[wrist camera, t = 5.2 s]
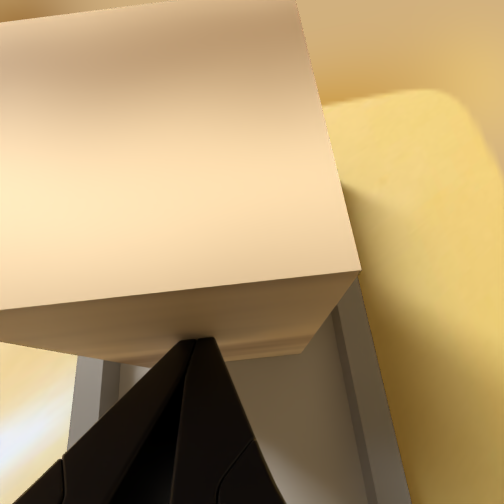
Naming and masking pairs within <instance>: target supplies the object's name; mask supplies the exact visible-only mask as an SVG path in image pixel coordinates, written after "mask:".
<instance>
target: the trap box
mask: <svg viewBox="0 0 504 504" xmlns="http://www.w3.org/2000/svg"><path fill="white" fill-rule="evenodd" d="M225 364H226V366H227V368H228V371H229V373H230V376H231V378H232V381H233V383H234V386H235V388H236V391H237V393H238V395H239V398H240V400H241V403H242V405H243V408H244V410H245V413H246V415H247V417H248V420H249V422H250V425H251V427H252V430H253V432H254V435H255V437H256V440H257V441H258V444H259V446H260V449H261V451H262V454H263V456H264V458H265V461H266V463H267V465H268V467H269V469H270V472H271V474H272V476H273V478H274V481H275V483H276V485H277V487H278V489H279V490H280V492H281V494H282V496H283V498H284V500H285V502H286V503H287V504H412V503H411V498H410V494H409V490H408V486H407V482H406V477H405V473H404V469H403V465H402V461H401V456H400V452H399V448H398V444H397V440H396V435H395V431H394V427H393V423H392V419H391V414H390V410H389V406H388V402H387V398H386V393H385V389H384V385H383V381H382V377H381V372H380V368H379V364H378V360H377V356H376V351H375V347H374V343H373V339H372V335H371V331H370V326H369V322H368V318H367V314H366V310H365V305H364V301H363V297H362V293H361V289H360V284H359V280H358V276H357V277H356V279H355V280H354V281H353V283H352V284H351V285H350V287H349V288H348V289H347V291H346V292H345V294H344V295H343V296H342V298H341V299H340V300H339V302H338V303H337V305H336V306H335V307H334V309H333V310H332V311H331V313H330V314H329V316H328V317H327V318H326V320H325V321H324V322H323V324H322V325H321V327H320V328H319V329H318V331H317V332H316V333H315V335H314V336H313V338H312V339H311V340H310V342H309V343H308V344H307V346H306V347H305V349H304V350H303V351H302V353H301V354H293V355H284V356H274V357H265V358H255V359H246V360H237V361H227V362H225ZM150 369H151V368H146V367H141V366H135V365H129V364H124V363H118V362H112V361H107V360H101V359H95V358H90V357H84V356H78V359H77V368H76V376H75V385H74V394H73V403H72V412H71V420H70V429H69V438H68V447H67V451H68V450H69V449H70V448H71V447H72V446H73V445H74V444H75V443H76V442H77V441H78V440H79V439H80V438H81V437H82V436H83V435H84V434H85V433H86V432H87V431H88V430H89V429H90V428H91V427H92V426H93V425H94V424H95V423H96V422H97V421H98V420H99V419H100V418H101V417H102V416H103V415H104V414H105V413H106V412H107V411H108V410H109V409H110V408H111V407H112V406H113V405H114V404H115V403H116V402H117V401H118V400H119V399H120V398H121V397H122V396H123V395H124V394H125V393H126V392H128V391H129V390H130V389H131V388H132V387H133V386H134V385H135V384H136V383H137V382H138V381H139V380H140V379H141V378H142V377H143V376H144V375H145V374H146V373H147V372H148V371H149V370H150Z"/></svg>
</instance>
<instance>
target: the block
mask: <svg viewBox="0 0 504 504" xmlns="http://www.w3.org/2000/svg"><path fill="white" fill-rule="evenodd" d="M361 270H362V269H361V265H360V261H359V257H358V253H357V249H356V245H355V240H354V236H353V232H352V228H351V224H350V220H349V216H348V212H347V208H346V204H345V200H344V196H343V192H342V187H341V183H340V179H339V175H338V171H337V167H336V163H335V159H334V155H333V151H332V147H331V143H330V138H329V134H328V130H327V126H326V122H325V118H324V114H323V110H322V106H321V102H320V98H319V94H318V90H317V85H316V81H315V78H314V73H313V69H312V65H311V61H310V57H309V53H308V49H307V45H306V41H305V37H304V32H303V28H302V24H301V20H300V16H299V12H298V8H297V4H296V0H173V1H165V2H157V3H151V4H142V5H135V6H127V7H119V8H111V9H104V10H96V11H88V12H80V13H72V14H65V15H57V16H49V17H42V18H34V19H26V20H18V21H11V22H3V23H0V342H5V343H10V344H16V345H22V346H27V347H33V348H39V349H44V350H50V351H56V352H61V353H67V354H73V355H78V356H84V357H90V358H95V359H101V360H107V361H112V362H118V363H124V364H129V365H135V366H141V367H146V368H152V367H153V366H154V365H155V364H156V363H157V362H158V361H159V360H160V359H161V358H162V357H163V356H164V355H165V354H166V353H167V352H168V351H169V350H170V349H171V348H172V347H173V346H174V345H175V344H176V343H177V342H178V341H180V340H187V339H196V340H198V339H199V338H206V337H214V338H215V339H216V342H217V344H218V346H219V349H220V351H221V354H222V356H223V359H224V361H225V362H227V361H237V360H246V359H255V358H265V357H274V356H284V355H293V354H301V353H302V351H303V350H304V349H305V347H306V346H307V344H308V343H309V342H310V340H311V339H312V338H313V336H314V335H315V333H316V332H317V331H318V329H319V328H320V327H321V325H322V324H323V322H324V321H325V320H326V318H327V317H328V316H329V314H330V313H331V311H332V310H333V309H334V307H335V306H336V305H337V303H338V302H339V300H340V299H341V298H342V296H343V295H344V294H345V292H346V291H347V289H348V288H349V287H350V285H351V284H352V283H353V281H354V280H355V279H356V277H357V276H358V274H359V273H360V272H361Z"/></svg>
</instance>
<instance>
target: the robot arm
mask: <svg viewBox="0 0 504 504" xmlns="http://www.w3.org/2000/svg"><path fill="white" fill-rule="evenodd" d="M13 504H287V503H286V502H285V500H284V498H283V496H282V494H281V492H280V490H279V489H278V487H277V485H276V483H275V481H274V478H273V476H272V474H271V472H270V469H269V467H268V465H267V463H266V461H265V458H264V456H263V454H262V451H261V449H260V446H259V444H258V441H257V440H256V437H255V435H254V432H253V430H252V427H251V425H250V422H249V420H248V417H247V415H246V413H245V410H244V408H243V405H242V403H241V400H240V398H239V395H238V393H237V391H236V388H235V386H234V383H233V381H232V378H231V376H230V373H229V371H228V368H227V366H226V364H225V361H224V359H223V356H222V354H221V351H220V349H219V346H218V344H217V342H216V339H215V338H214V337H206V338H199V339H198V340H196V339H187V340H180V341H178V342H177V343H176V344H175V345H174V346H173V347H172V348H171V349H170V350H169V351H168V352H167V353H166V354H165V355H164V356H163V357H162V358H161V359H160V360H159V361H158V362H157V363H156V364H155V365H154V366H153V367H152V368H151V369H150V370H149V371H148V372H147V373H146V374H145V375H144V376H143V377H142V378H141V379H140V380H139V381H138V382H137V383H136V384H135V385H134V386H133V387H132V388H131V389H130V390H129V391H128V392H126V393H125V394H124V395H123V396H122V397H121V398H120V399H119V400H118V401H117V402H116V403H115V404H114V405H113V406H112V407H111V408H110V409H109V410H108V411H107V412H106V413H105V414H104V415H103V416H102V417H101V418H100V419H99V420H98V421H97V422H96V423H95V424H94V425H93V426H92V427H91V428H90V429H89V430H88V431H87V432H86V433H85V434H84V435H83V436H82V437H81V438H80V439H79V440H78V441H77V442H76V443H75V444H74V445H73V446H72V447H71V448H70V449H69V450H68V451H67V452H65V453H64V454H63V456H62V459H58V460H57V461H56V462H55V463H54V464H53V465H52V466H51V467H50V468H49V469H48V470H47V471H46V472H45V473H44V474H43V475H42V476H41V477H40V478H39V479H38V480H37V481H36V482H35V483H34V484H33V485H31V486H30V487H29V488H28V489H27V490H26V491H25V492H24V493H23V494H22V495H21V496H20V497H19V498H18V499H17V500H16V501H15V502H14V503H13Z"/></svg>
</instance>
